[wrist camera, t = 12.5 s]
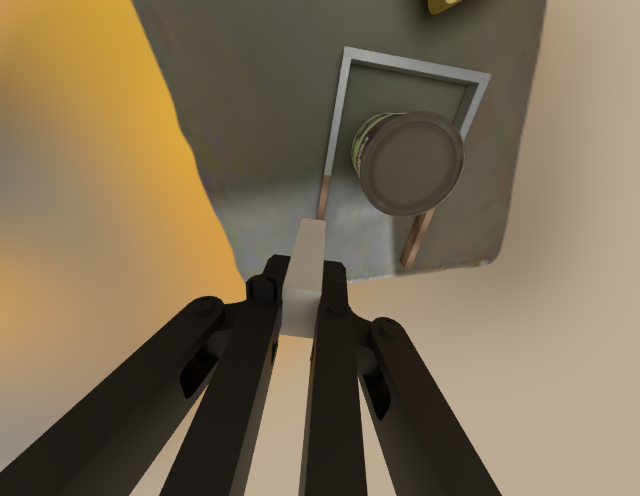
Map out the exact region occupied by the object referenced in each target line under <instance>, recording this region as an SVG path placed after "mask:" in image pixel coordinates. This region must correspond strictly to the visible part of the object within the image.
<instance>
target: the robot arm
mask: <svg viewBox="0 0 640 496" xmlns="http://www.w3.org/2000/svg"><path fill="white" fill-rule="evenodd" d="M325 231H326V221H324V220H316V219H309V218H302V220H301V224H300V227H299V231H298V234H297V238H296V241H295V245H294V249H293V252H292V256H284V255H276V254H274V255H273V256H272V257H271V258H269V259H268V261H267V264H266V267H265V268H264V271H263V273H262V274H260V275H255V276H253V277H251V278H250V279H248V281H247V282H246V297H247V299H246V300H244V301H242V302H238V303H231V304H224V303H223V302H222V300H221V299H219V298H217V297H214V296H205V297H200V298H197V299H195V300H193V301H192V302H190V303H189V304H188V305H187V306H186V307H185V308H183V309H182V310H181V311H180V312H179V313H178V314H177V315H176V316H174V317H173V318H172V319H171V320H170V321H169V322H168V323H167V324H165V325H164V326H163V327H162V328H161V329H160V330H159V331H158V332H157V333H156V334H154V335H153V336H152V337H151V338H150V339H149V340H148V341H147V342H145V343H144V344H143V345H142V346H141V347H140V348H139V349H138V350H137V351H135V352H134V353H133V354H132V355H131V356H130V357H129V358H128V359H126V360H125V361H124V362H123V363H122V364H121V365H120V366H119V367H117V368H116V369H115V370H114V371H113V372H112V373H111V374H110V375H109V376H108V377H106V378H105V379H104V380H103V381H102V382H101V383H100V384H99V385H98V386H96V387H95V388H94V389H93V390H92V391H91V392H90V393H88V394H87V395H86V396H85V397H84V398H83V399H82V400H81V401H79V402H78V403H77V404H76V405H75V406H74V407H73V408H72V409H71V410H70V411H68V412H67V413H66V414H65V415H64V416H63V417H62V418H61V419H59V420H58V421H57V422H56V423H55V424H54V425H53V426H52V427H51V428H49V429H48V430H47V431H46V432H45V433H44V434H43V435H42V436H41V437H39V438H38V439H37V440H36V441H35V442H34V443H33V444H31V445H30V447H28V448H27V449H26V450H25V451H24V452H23V453H22V454H20V455H19V456H18V457H17V458H16V459H15V460H14V461H12V463H10V464H9V465H8V466H7V467H6V468H5V469H4V470H3V471H1V472H0V496H129V495H130V493H131V492H132V490H133V489H134V488H135V486H136V485H137V483H138V482H139V480H140V479H141V478H142V476H143V475H144V474H145V472H146V471H147V469H148V468H149V467H150V465H151V464H152V462H153V461H154V460H155V458H156V456H157V455H158V454H159V452H160V451H161V450H162V448H163V447H164V445H165V444H166V442H167V441H168V440H169V438H170V437H171V436H172V434H173V433H174V431H175V430H176V428H177V427H178V426H179V424H180V423H181V422H182V420H183V419H184V417H185V416H186V415H187V413H188V411H189V410H190V409H191V407H192V406H193V405H194V403H195V402H196V400H197V399H198V398H199V396H200V395H201V393H202V392H203V391H204V389H205V388H206V386H207V385H208V384H209V385H208V387H207V389H206V391H205V394H204V396H203V398H202V401H201V403H200V405H199V407H198V409H197V411H196V414H195V416H194V418H193V420H192V423H191V425H190V427H189V429H188V432H187V434H186V436H185V439H184V441H183V443H182V445H181V448H180V450H179V452H178V454H177V456H176V459H175V461H174V463H173V465H172V468H171V470H170V472H169V474H168V477H167V479H166V481H165V483H164V486H163V488H162V490H161V493H160V495H159V496H244V492H245V488H246V484H247V479H248V475H249V471H250V466H251V462H252V457H253V453H254V449H255V444H256V440H257V436H258V431H259V427H260V423H261V418H262V413H263V409H264V405H265V401H266V396H267V392H268V387H269V383H270V379H271V374H272V370H273V366H274V361H275V357H276V352H277V348H278V338H279V333H280V334H281V335H289V336H297V337H305V338H313V346H312V352H311V358H310V361H311V365H310V375H309V388H308V397H307V398H308V399H307V408H306V419H305V429H304V440H303V451H302V462H301V473H300V485H299V494H298V496H368V494H367V483H366V470H365V459H364V447H363V435H362V423H361V411H360V400H359V388H358V378H359V381H360V384H361V387H362V390H363V393H364V397H365V400H366V403H367V406H368V409H369V412H370V415H371V418H372V421H373V424H374V427H375V431H376V434H377V437H378V440H379V443H380V446H381V449H382V452H383V455H384V458H385V461H386V465H387V467H388V471H389V474H390V477H391V480H392V483H393V486H394V489H395V492H396V495H397V496H502V495H501V493H500V491H499V490H498V488H497V486H496V485H495V483H494V481H493V480H492V478H491V476H490V474H489V473H488V471H487V469H486V468H485V466H484V464H483V463H482V461H481V459H480V457H479V456H478V454H477V452H476V451H475V449H474V447H473V446H472V444H471V442H470V440H469V439H468V437H467V435H466V434H465V432H464V430H463V429H462V427H461V426H460V423H459V422H458V420H457V418H456V417H455V415H454V413H453V411H452V410H451V408H450V406H449V405H448V403H447V401H446V400H445V398H444V396H443V394H442V393H441V391H440V389H439V388H438V386H437V384H436V382H435V381H434V379H433V377H432V376H431V374H430V372H429V371H428V369H427V367H426V366H425V364H424V362H423V360H422V359H421V357H420V355H419V354H418V352H417V350H416V348H415V347H414V345H413V343H412V342H411V340H410V338H409V337H408V335H407V333H406V331H405V330H404V328H403V327H402V326H401V325H400V324H399V323H398V322H396V321H395V320H392V319H390V318H387V317H380V318H376V319H375V320H373V321H372V322H371V321H368V320H365V319H363V318H361V317H359V316H357V315H356V314H355V313H353V311H352V310H351V307H350V306H349V304H348V293H347V282H346V281H347V280H346V268H345V267H344V266H343V264H342V263H341V262H334V261H327V260H324V246H325ZM357 375H358V376H357Z"/></svg>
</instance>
